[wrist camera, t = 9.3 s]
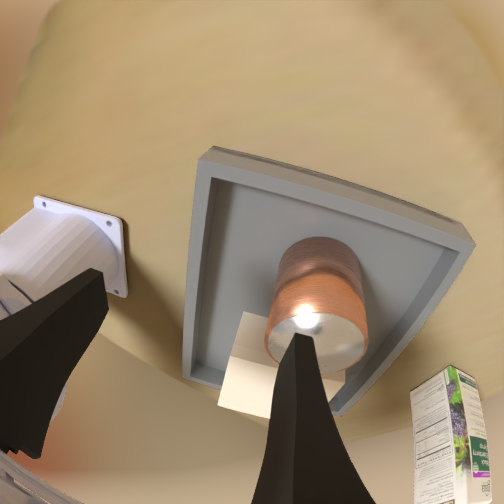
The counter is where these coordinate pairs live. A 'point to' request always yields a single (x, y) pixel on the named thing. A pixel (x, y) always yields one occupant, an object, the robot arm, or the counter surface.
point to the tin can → (319, 303)
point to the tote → (293, 230)
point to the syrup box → (449, 441)
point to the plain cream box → (258, 371)
